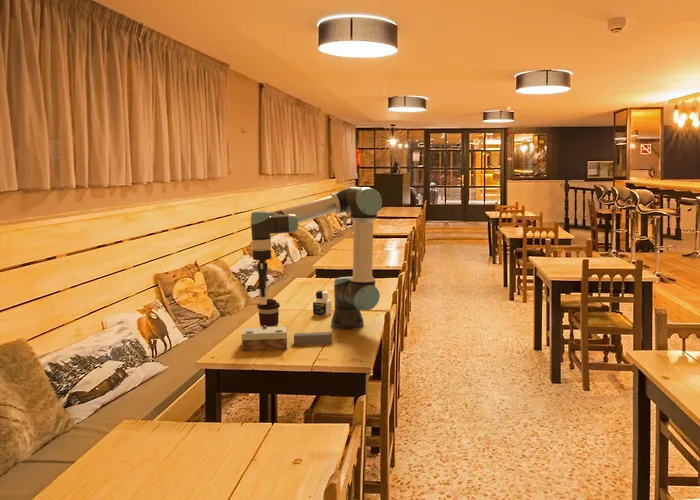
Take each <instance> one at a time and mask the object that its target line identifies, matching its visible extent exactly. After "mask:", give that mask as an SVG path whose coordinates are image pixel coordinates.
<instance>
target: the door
mask: <svg viewBox="0 0 700 500" xmlns="http://www.w3.org/2000/svg"><path fill="white" fill-rule="evenodd" d="M287 329H288V327H287V326H278V327H267V326H266V325H264V326H263V327H261V326H259V327H257V326H256V327H243V328H242V332H241V341H242V340H261V339H286V338H287V339H288V330H287ZM278 330H280V332H278ZM248 331H251V334H248Z"/></svg>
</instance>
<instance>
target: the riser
mask: <svg viewBox="0 0 700 500" xmlns="http://www.w3.org/2000/svg"><path fill="white" fill-rule="evenodd" d="M331 344H333V332H332V331H322V332H319V331H318V332H295V333H293V346H305V345H306V346H307V345H331Z"/></svg>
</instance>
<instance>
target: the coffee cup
mask: <svg viewBox="0 0 700 500" xmlns="http://www.w3.org/2000/svg"><path fill="white" fill-rule="evenodd" d="M256 305H257V307H256V308H257V309H258V319H259V320H258V321H259V325H260V327H263V326H264V325H266V326H267V327H279V318H280V317H279V315H280V311H279V308H280V306H281V304H280V303H279V302H278V301H277V300H276V299H275V298H274V299H273V298H267V304H266V305H260V302H259V303H257V304H256Z"/></svg>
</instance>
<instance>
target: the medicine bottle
mask: <svg viewBox="0 0 700 500" xmlns="http://www.w3.org/2000/svg"><path fill="white" fill-rule="evenodd" d="M332 311H333V310H332V299H329V292H328V291H326V290H318V291H316V292H315V300H314V301H313V302H312V315H313V316H314V317H315V316H316V317H325V318H326V317H328V316H330V315H332Z"/></svg>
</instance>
